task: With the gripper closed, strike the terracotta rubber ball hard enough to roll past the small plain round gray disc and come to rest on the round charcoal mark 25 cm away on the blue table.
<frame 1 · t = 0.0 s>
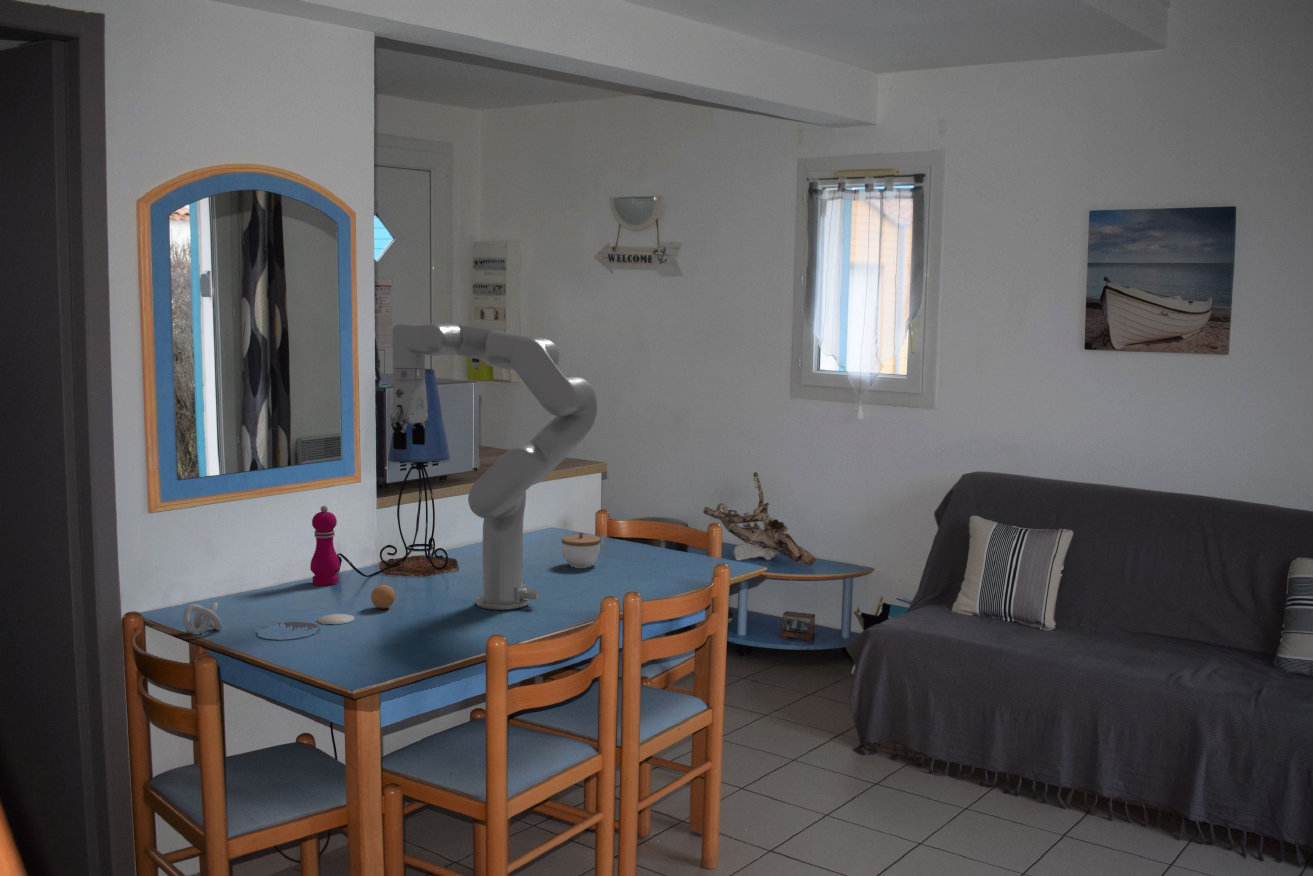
hand: (409, 446, 261), 37 cm above the table, tool pointing down, fingers open, 9 cm apart
plain round gray disc: (336, 619, 244), on the table
pepper mill: (325, 584, 277), on the table
ball: (383, 596, 254), on the table
knot: (205, 631, 235), on the table
lidded jar: (580, 566, 300), on the table
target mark: (288, 631, 235), on the table
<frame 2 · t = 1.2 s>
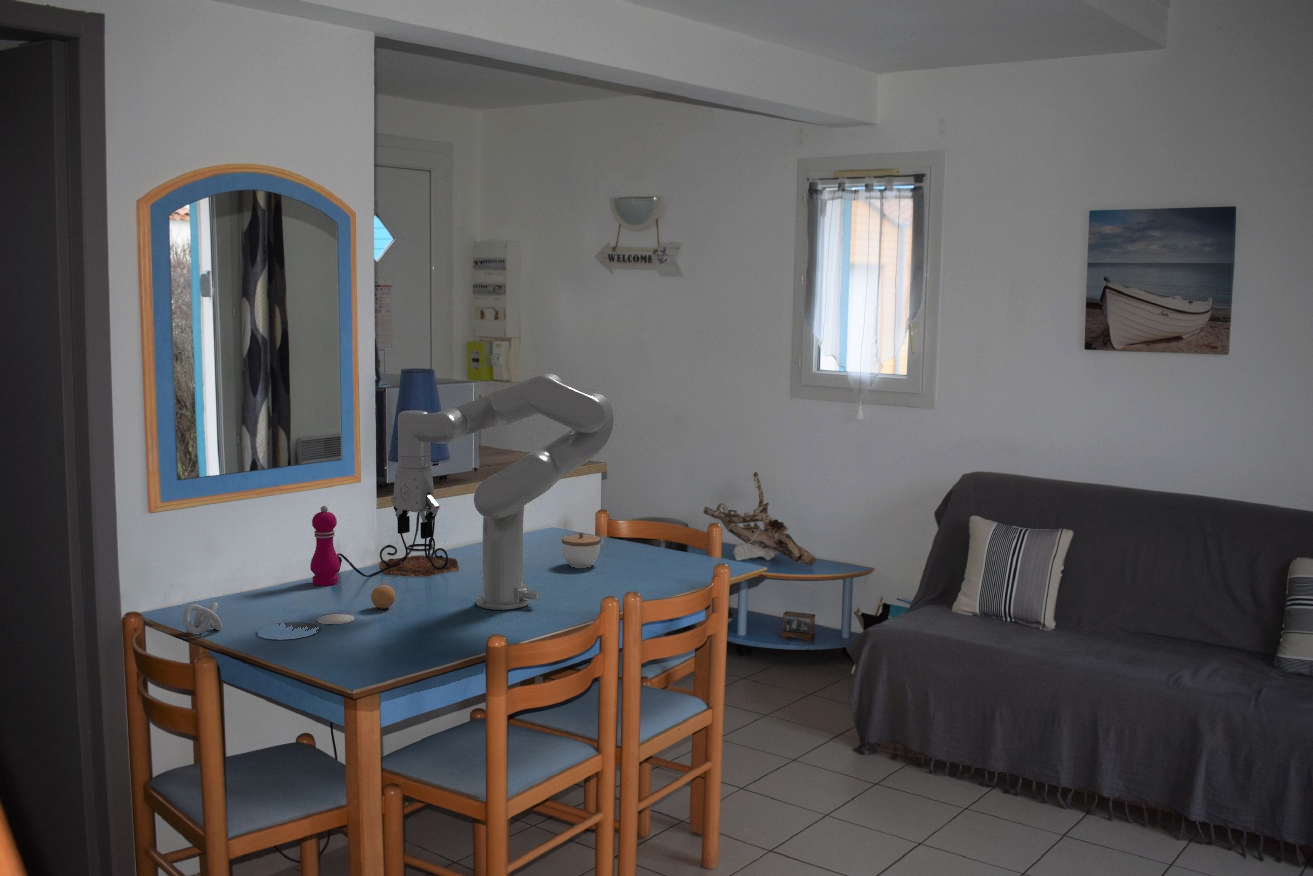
hand: (415, 535, 260), 16 cm above the table, tool pointing down, fingers open, 7 cm apart
nothing on the table moved.
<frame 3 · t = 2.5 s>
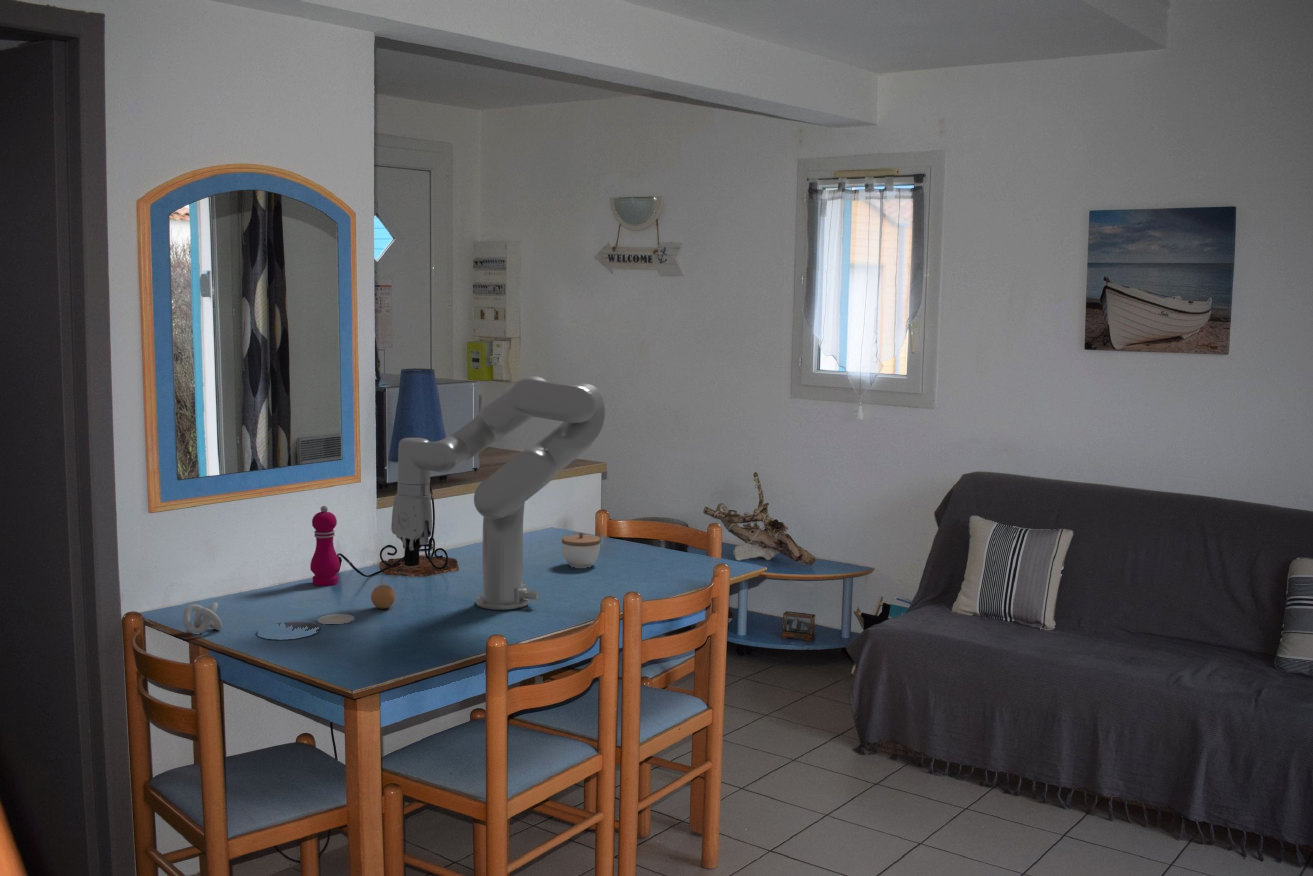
hand: (411, 565, 261), 9 cm above the table, tool pointing down, fingers closed
nothing on the table moved.
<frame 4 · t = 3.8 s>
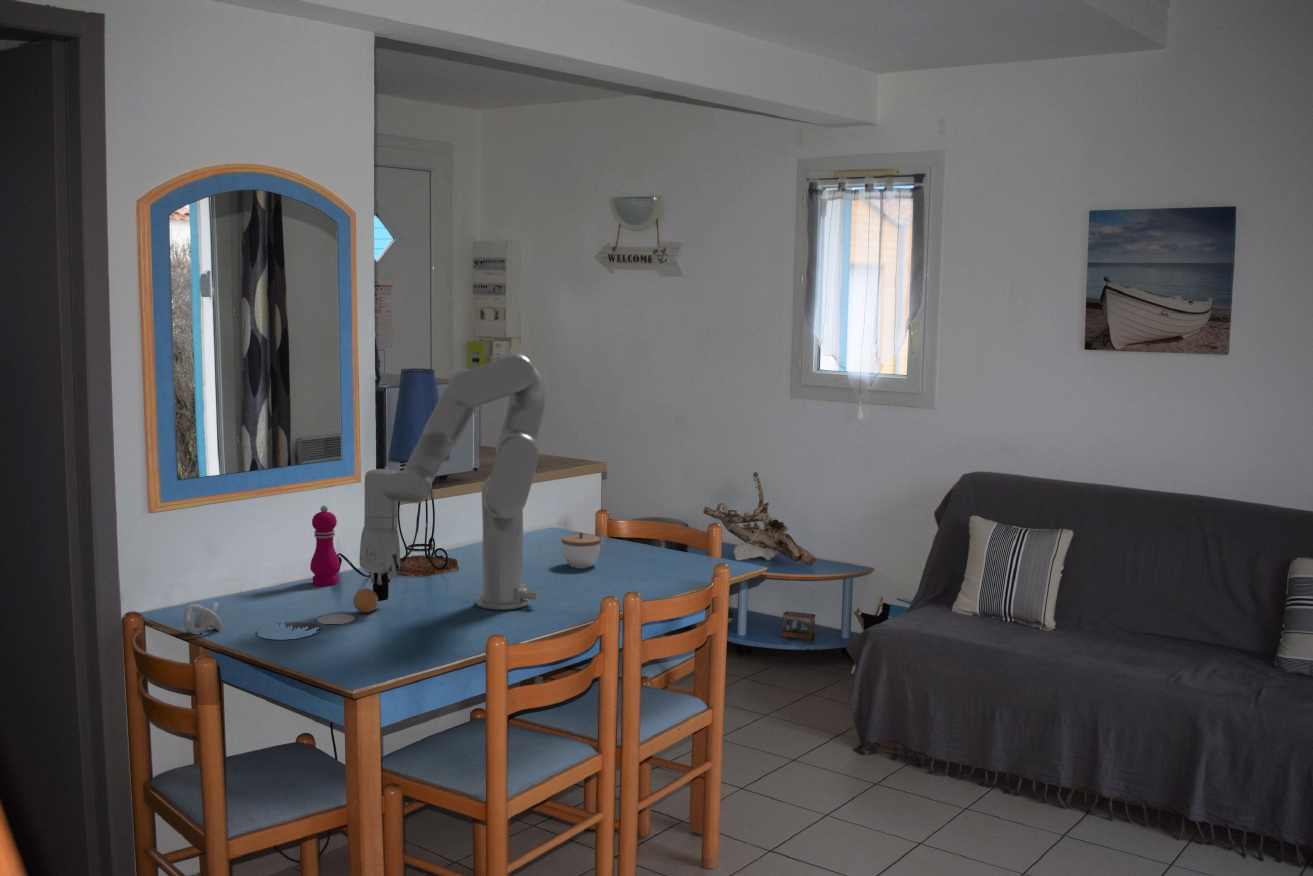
hand: (380, 599, 254), 2 cm above the table, tool pointing down, fingers closed
ball: (365, 600, 250), on the table
everything else where it was.
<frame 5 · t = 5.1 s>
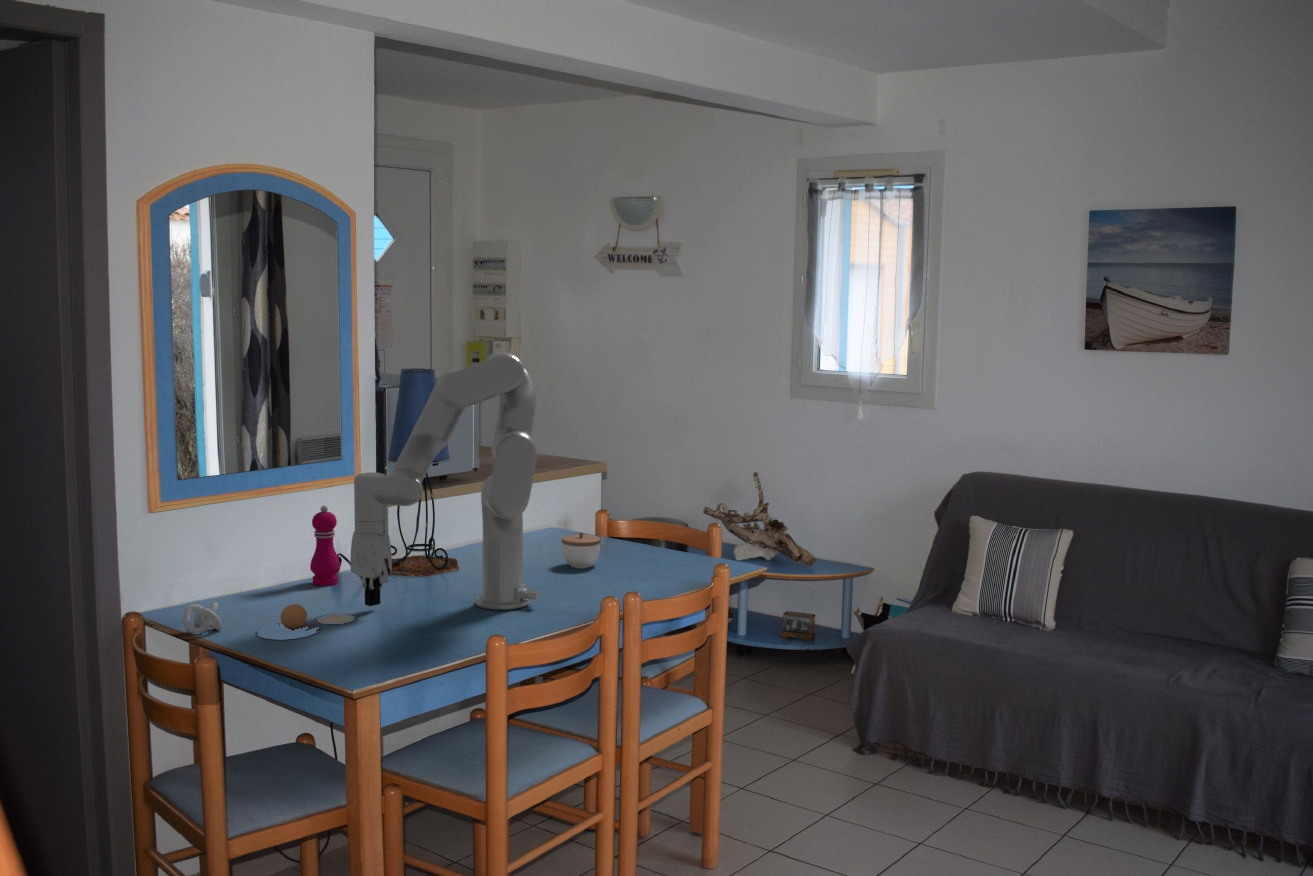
hand: (372, 604, 252), 2 cm above the table, tool pointing down, fingers closed
ball: (293, 616, 236), on the table
everything else where it was.
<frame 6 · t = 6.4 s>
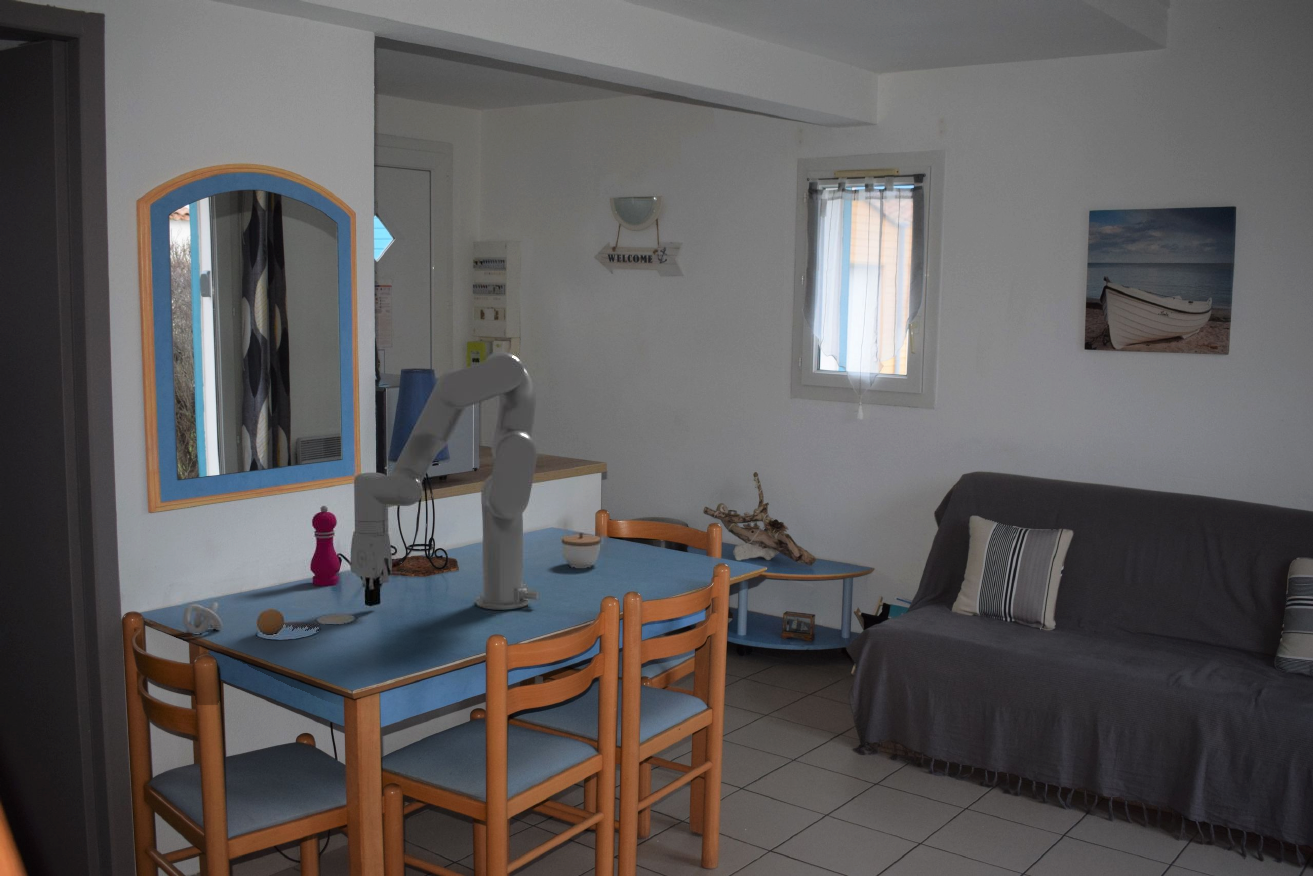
hand: (372, 604, 252), 2 cm above the table, tool pointing down, fingers closed
ball: (270, 622, 232), on the table
everything else where it was.
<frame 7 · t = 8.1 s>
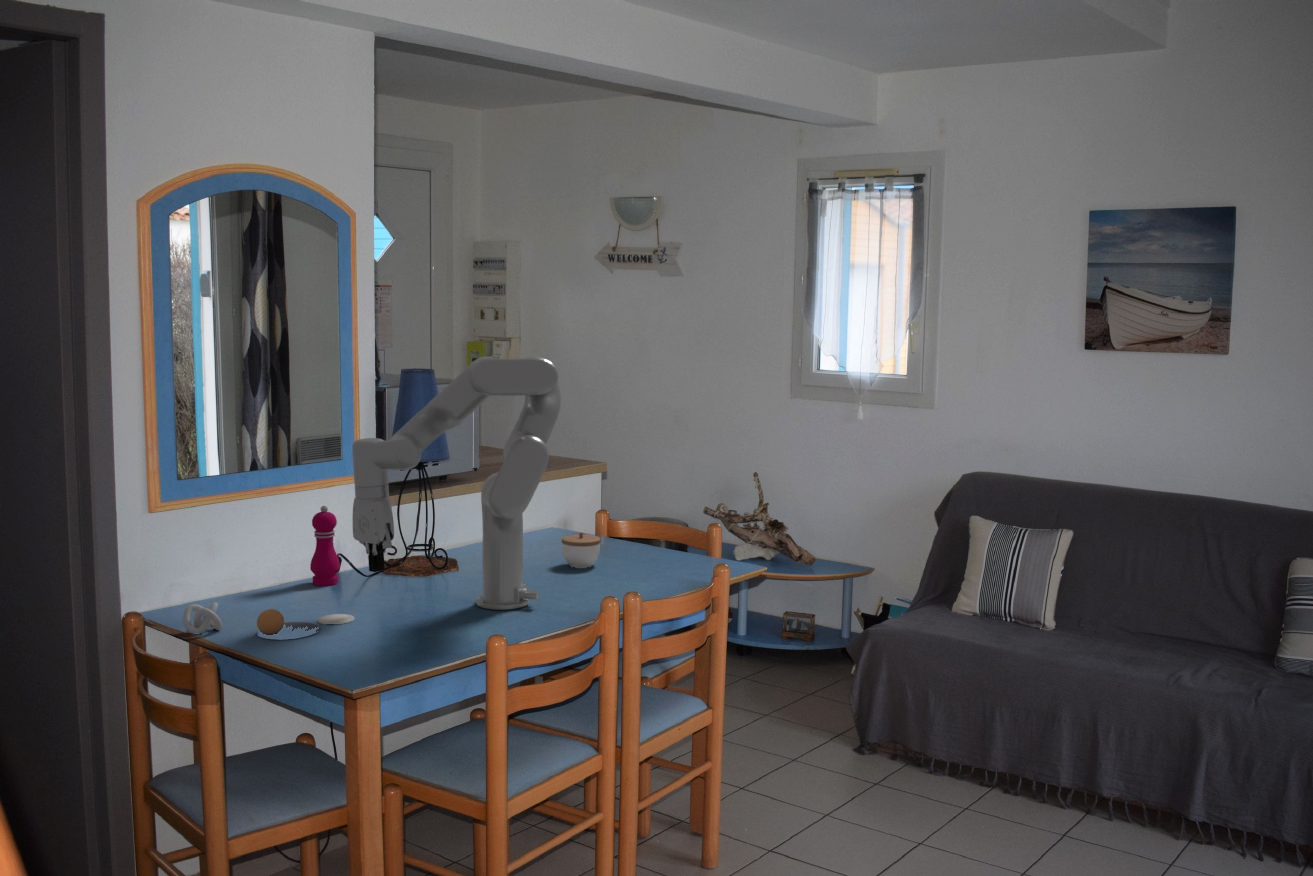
hand: (377, 570, 251), 9 cm above the table, tool pointing down, fingers closed
nothing on the table moved.
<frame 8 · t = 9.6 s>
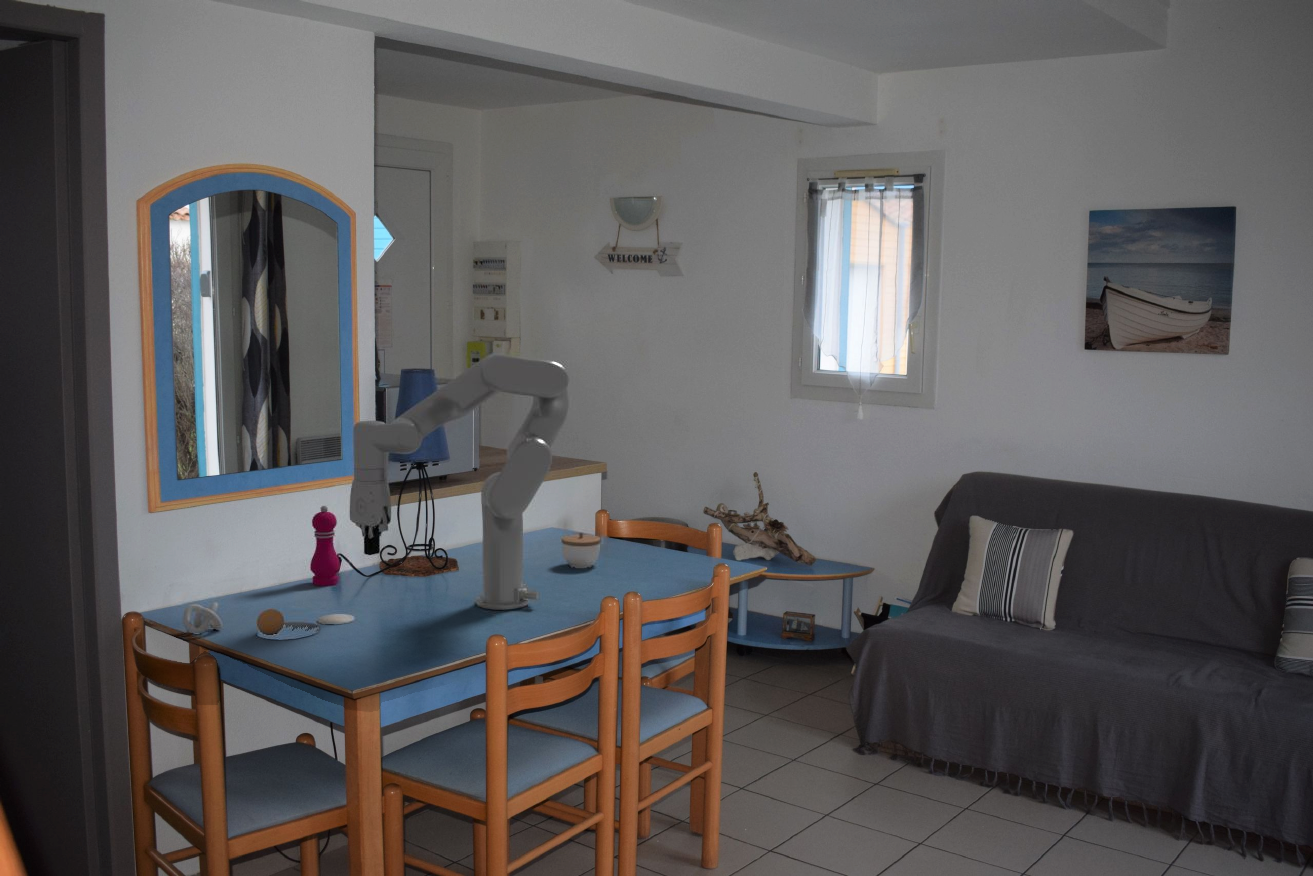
hand: (371, 553, 250), 13 cm above the table, tool pointing down, fingers closed
nothing on the table moved.
at the end: ball 3.9 cm from the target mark (horizontally); ball at rest at the end (0.0 cm/s); ball moved 28.8 cm from its start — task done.
